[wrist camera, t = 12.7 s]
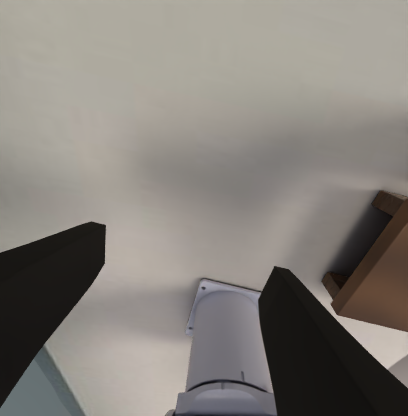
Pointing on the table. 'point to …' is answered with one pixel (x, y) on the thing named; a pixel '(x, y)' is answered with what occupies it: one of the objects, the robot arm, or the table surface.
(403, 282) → the stand
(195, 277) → the table surface
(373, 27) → the table surface
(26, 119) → the table surface
